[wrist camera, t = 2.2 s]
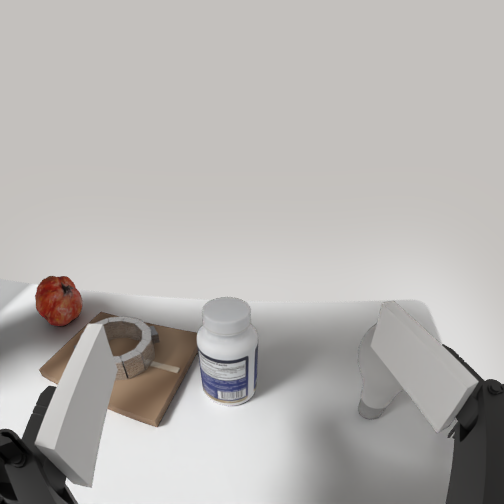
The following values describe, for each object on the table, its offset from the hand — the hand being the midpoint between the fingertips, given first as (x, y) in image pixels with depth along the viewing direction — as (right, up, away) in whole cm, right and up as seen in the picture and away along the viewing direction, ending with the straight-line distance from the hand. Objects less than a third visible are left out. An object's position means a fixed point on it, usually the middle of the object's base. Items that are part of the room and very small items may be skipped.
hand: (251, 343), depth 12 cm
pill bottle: (-2, -10, +14) cm, 17 cm away
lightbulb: (+11, -12, +10) cm, 19 cm away
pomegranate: (-28, -6, +22) cm, 36 cm away
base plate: (-15, -9, +16) cm, 24 cm away
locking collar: (-15, -9, +16) cm, 24 cm away
